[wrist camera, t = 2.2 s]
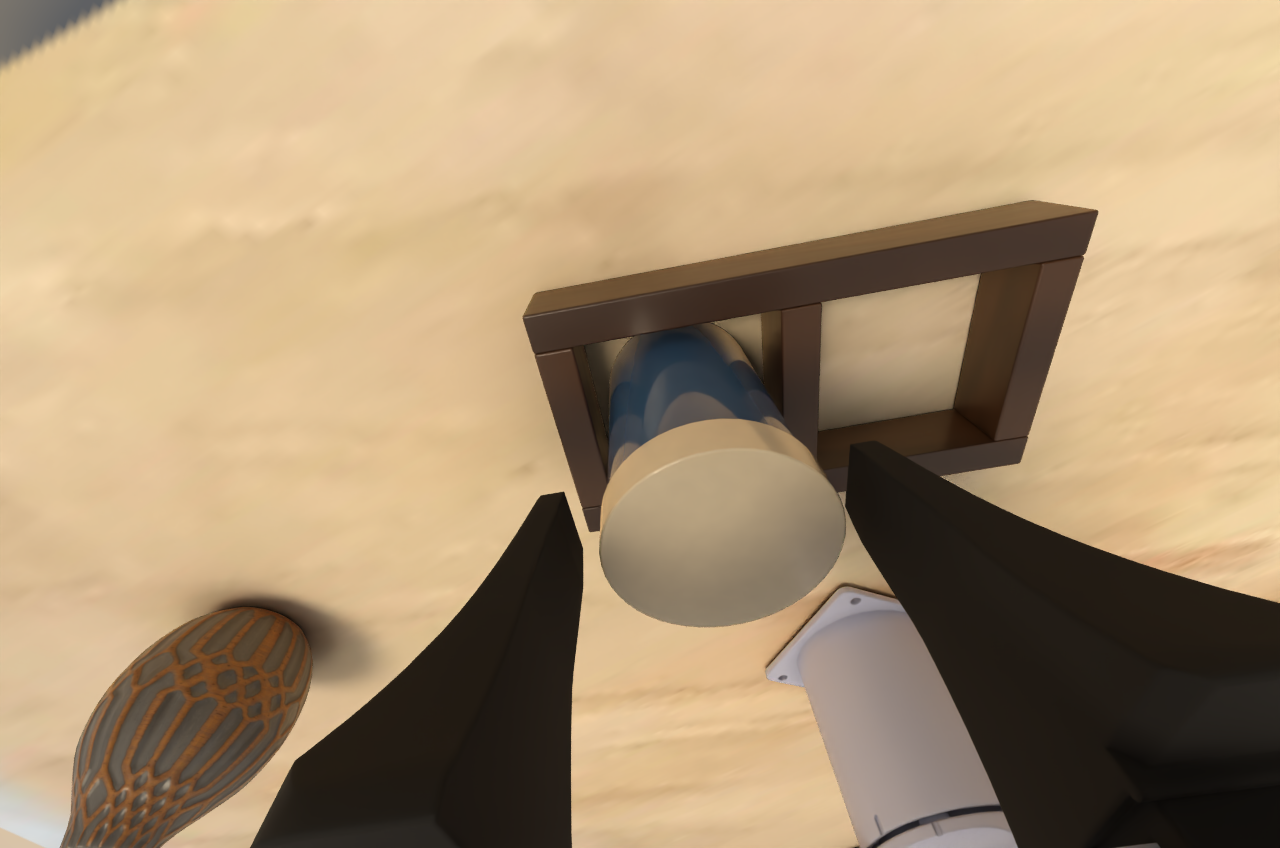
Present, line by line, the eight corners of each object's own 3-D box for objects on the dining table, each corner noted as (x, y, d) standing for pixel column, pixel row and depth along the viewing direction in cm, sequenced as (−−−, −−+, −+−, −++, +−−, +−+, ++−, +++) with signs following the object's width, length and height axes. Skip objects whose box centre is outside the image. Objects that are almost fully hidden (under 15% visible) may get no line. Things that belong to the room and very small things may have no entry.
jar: (781, 345, 17) (899, 493, 10) (712, 462, 19) (766, 646, 12) (639, 289, 16) (658, 413, 9) (584, 422, 18) (566, 601, 11)
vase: (159, 634, 23) (-55, 869, 16) (218, 563, 21) (1, 799, 14) (296, 687, 26) (169, 907, 19) (362, 629, 24) (247, 854, 16)
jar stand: (977, 428, 19) (1020, 463, 17) (592, 492, 20) (589, 532, 18) (1033, 199, 15) (1100, 209, 13) (533, 293, 16) (521, 316, 13)
